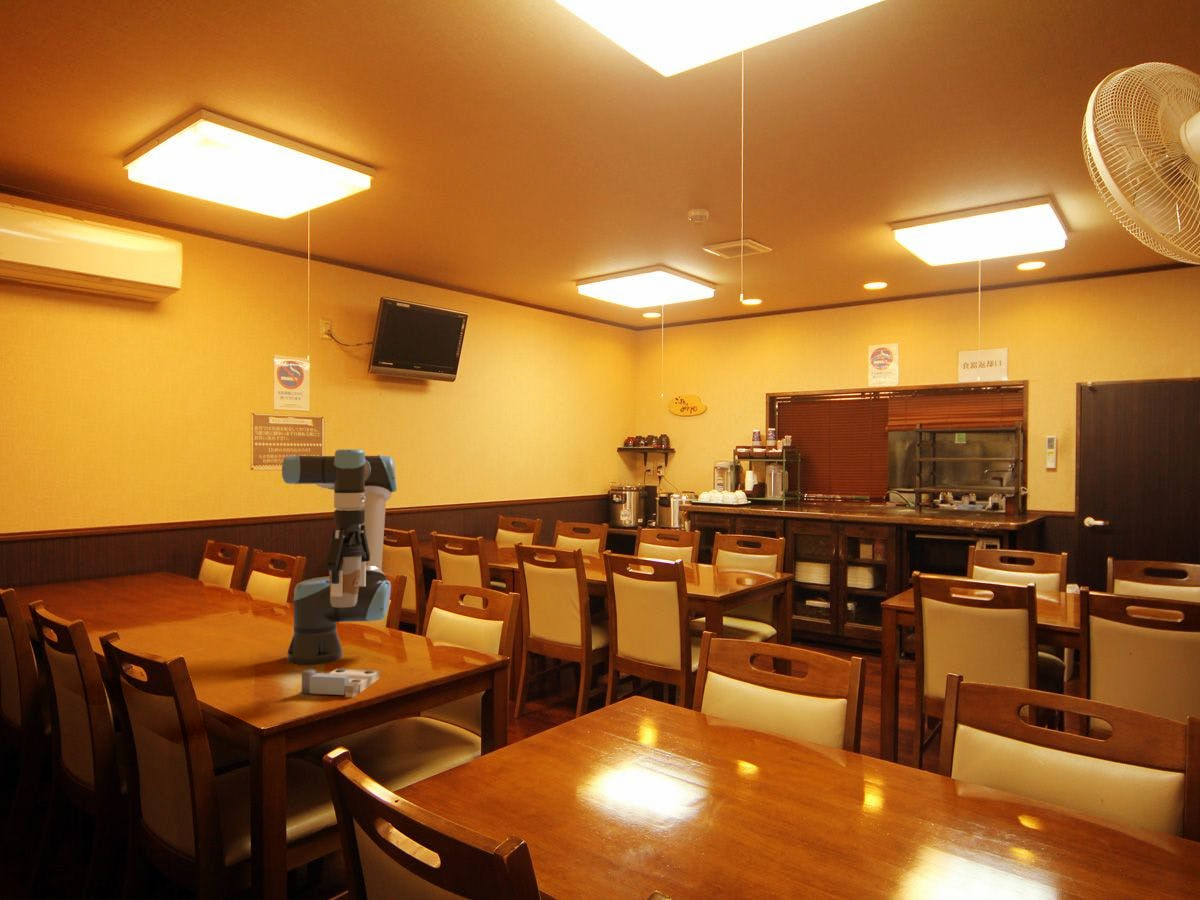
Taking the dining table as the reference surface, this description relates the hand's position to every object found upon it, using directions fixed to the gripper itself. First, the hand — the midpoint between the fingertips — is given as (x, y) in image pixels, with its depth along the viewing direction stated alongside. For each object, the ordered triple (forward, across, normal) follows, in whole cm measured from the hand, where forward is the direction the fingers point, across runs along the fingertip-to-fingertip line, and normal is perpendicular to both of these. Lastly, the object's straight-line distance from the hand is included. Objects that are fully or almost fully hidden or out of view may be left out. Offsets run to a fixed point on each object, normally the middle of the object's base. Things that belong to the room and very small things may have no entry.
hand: (348, 591), depth 195 cm
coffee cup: (+3, -3, 0) cm, 4 cm away
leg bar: (+24, -8, +6) cm, 27 cm away
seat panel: (+24, 0, 0) cm, 24 cm away
